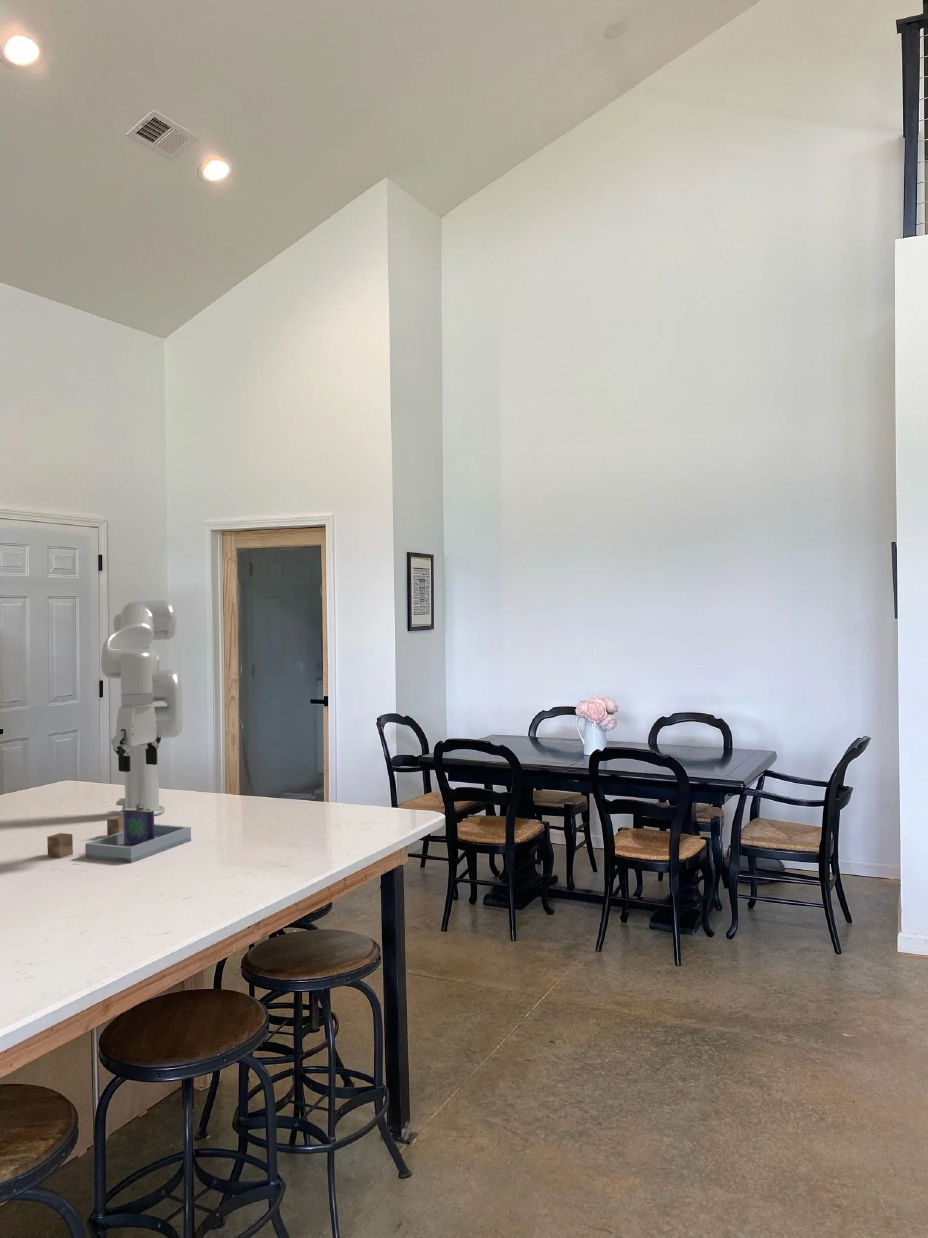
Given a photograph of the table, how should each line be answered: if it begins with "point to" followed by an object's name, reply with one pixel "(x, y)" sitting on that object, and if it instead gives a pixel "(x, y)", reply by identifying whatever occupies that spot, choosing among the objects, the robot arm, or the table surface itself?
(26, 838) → the table surface
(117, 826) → the walnut block far
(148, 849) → the tray
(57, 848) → the walnut block near
